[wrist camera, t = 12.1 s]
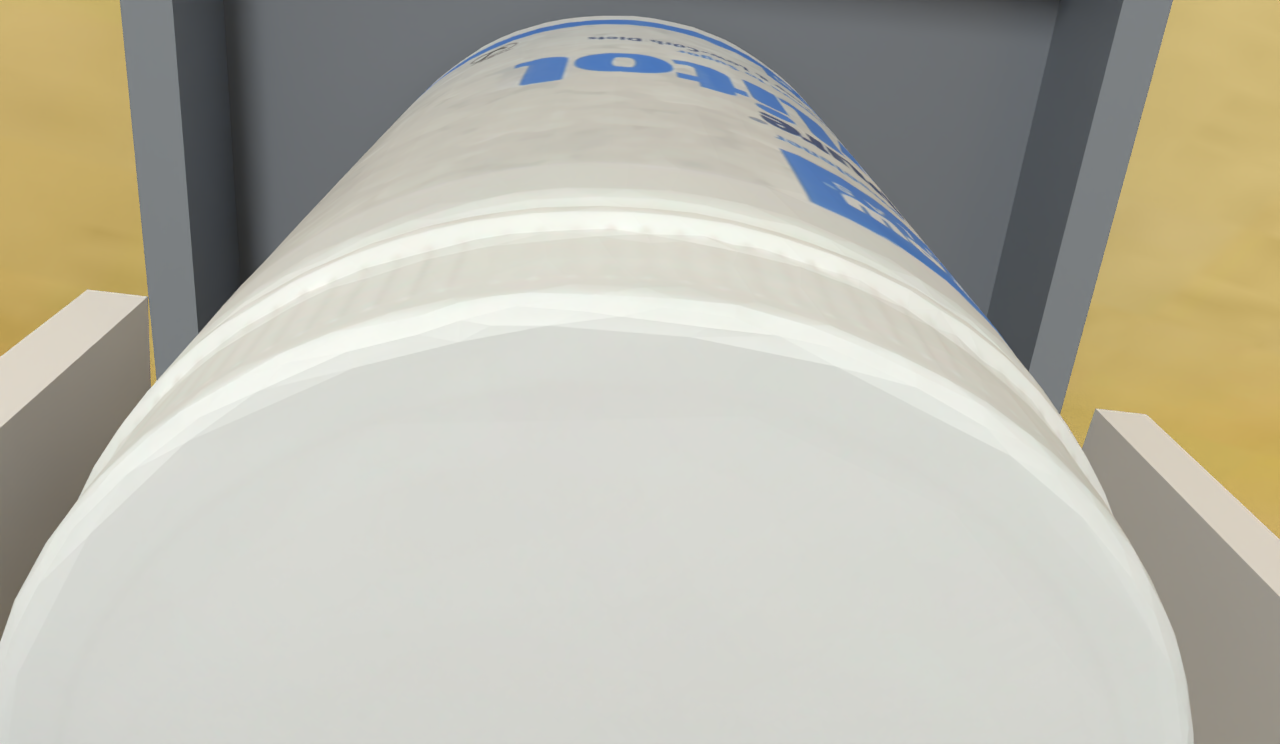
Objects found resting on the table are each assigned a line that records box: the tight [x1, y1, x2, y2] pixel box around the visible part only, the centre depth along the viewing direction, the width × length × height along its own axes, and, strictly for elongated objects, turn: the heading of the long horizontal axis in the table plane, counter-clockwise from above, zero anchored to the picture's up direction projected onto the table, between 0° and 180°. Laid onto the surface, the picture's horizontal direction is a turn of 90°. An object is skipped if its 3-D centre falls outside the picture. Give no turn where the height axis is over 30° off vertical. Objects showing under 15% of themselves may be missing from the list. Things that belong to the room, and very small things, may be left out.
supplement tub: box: [0, 16, 1194, 744], centre depth 15 cm, size 10×10×15 cm
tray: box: [120, 0, 1173, 414], centre depth 21 cm, size 17×17×4 cm
